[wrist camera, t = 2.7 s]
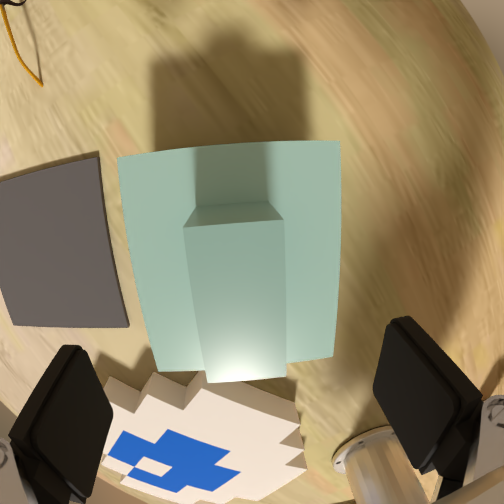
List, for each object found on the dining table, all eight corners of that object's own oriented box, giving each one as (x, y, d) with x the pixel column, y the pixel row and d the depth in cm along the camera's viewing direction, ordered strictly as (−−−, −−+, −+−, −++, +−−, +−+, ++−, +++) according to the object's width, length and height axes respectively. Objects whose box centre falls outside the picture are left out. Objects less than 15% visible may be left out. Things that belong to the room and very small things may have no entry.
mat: (99, 156, 22) (97, 157, 22) (129, 324, 27) (128, 327, 27) (-19, 188, 21) (-21, 189, 21) (15, 323, 26) (13, 325, 26)
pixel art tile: (231, 514, 37) (72, 460, 30) (230, 497, 40) (79, 442, 34) (348, 437, 30) (123, 349, 24) (340, 416, 34) (134, 326, 28)
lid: (333, 141, 17) (380, 137, 11) (329, 348, 21) (355, 403, 16) (122, 157, 16) (76, 160, 10) (160, 363, 21) (145, 422, 15)
